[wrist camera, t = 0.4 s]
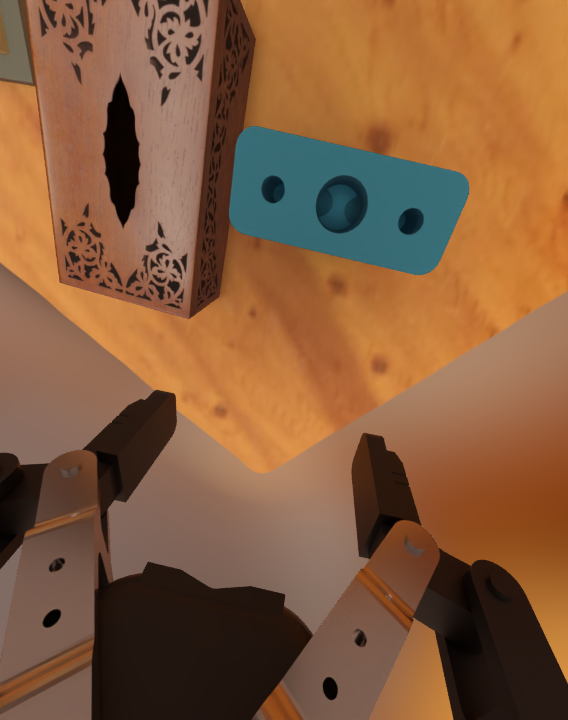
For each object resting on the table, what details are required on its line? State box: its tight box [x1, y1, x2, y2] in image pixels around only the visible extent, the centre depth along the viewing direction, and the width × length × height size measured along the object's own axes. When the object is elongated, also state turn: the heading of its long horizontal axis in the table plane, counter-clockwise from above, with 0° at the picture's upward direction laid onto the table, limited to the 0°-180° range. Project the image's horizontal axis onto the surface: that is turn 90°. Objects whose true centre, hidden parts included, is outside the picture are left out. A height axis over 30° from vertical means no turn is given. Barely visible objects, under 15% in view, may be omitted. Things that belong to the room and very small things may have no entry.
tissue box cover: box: [25, 0, 255, 319], centre depth 29 cm, size 26×14×10 cm, turn 166°
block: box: [229, 126, 469, 275], centre depth 24 cm, size 12×5×20 cm, turn 79°
